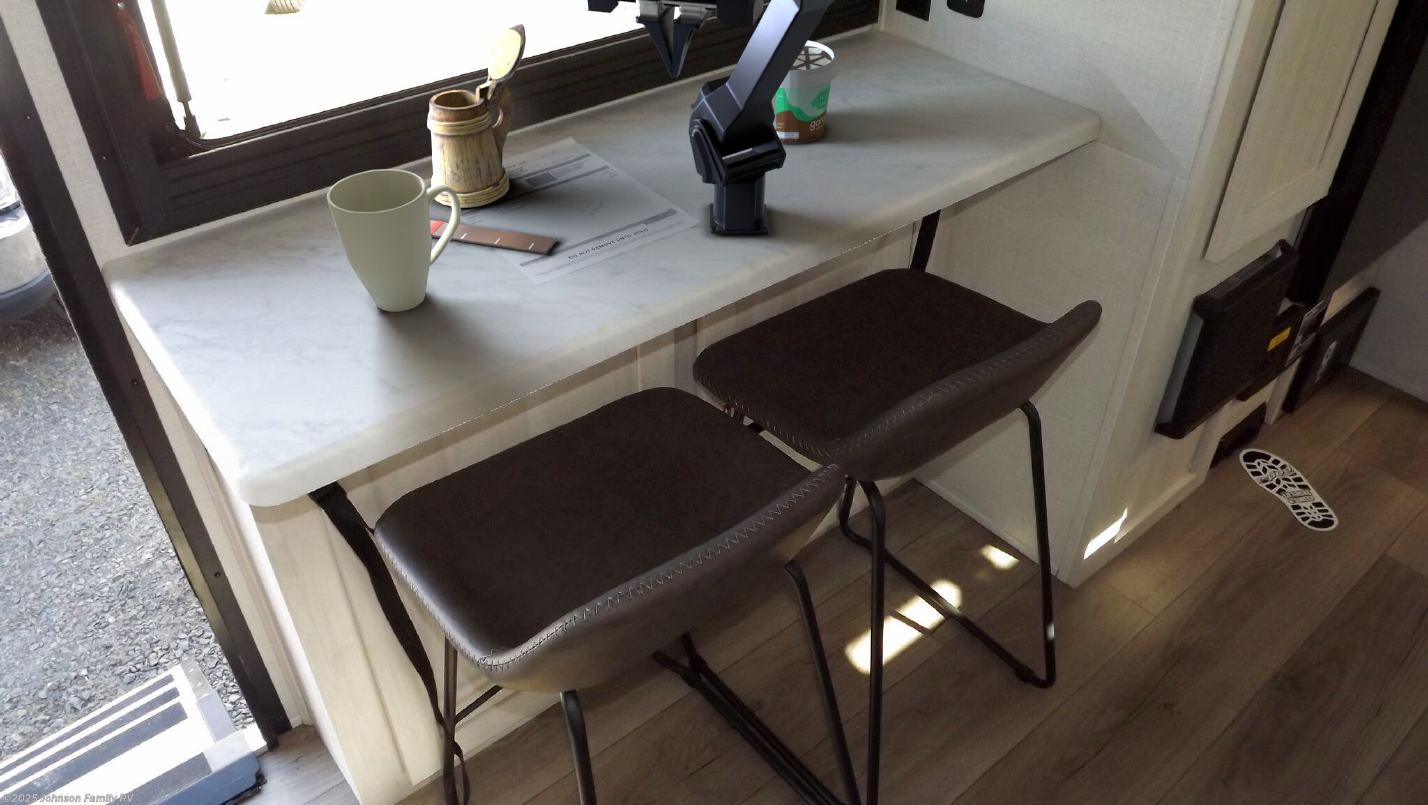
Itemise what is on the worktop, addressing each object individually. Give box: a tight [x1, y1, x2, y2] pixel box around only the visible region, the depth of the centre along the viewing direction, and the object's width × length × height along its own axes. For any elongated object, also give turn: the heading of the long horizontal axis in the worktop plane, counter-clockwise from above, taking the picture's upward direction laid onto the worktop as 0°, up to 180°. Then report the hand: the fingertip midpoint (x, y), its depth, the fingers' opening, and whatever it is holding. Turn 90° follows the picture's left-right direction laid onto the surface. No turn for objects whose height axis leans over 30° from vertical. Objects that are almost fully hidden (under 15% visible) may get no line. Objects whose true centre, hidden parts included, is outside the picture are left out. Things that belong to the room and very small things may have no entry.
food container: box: [775, 39, 838, 145], centre depth 133 cm, size 12×6×10 cm, turn 160°
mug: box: [326, 168, 462, 313], centre depth 101 cm, size 11×10×12 cm
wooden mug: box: [427, 23, 527, 208], centre depth 118 cm, size 9×14×18 cm, turn 123°
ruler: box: [430, 219, 558, 255], centre depth 114 cm, size 20×3×1 cm, turn 75°
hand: (675, 75), depth 116 cm, fingers closed
